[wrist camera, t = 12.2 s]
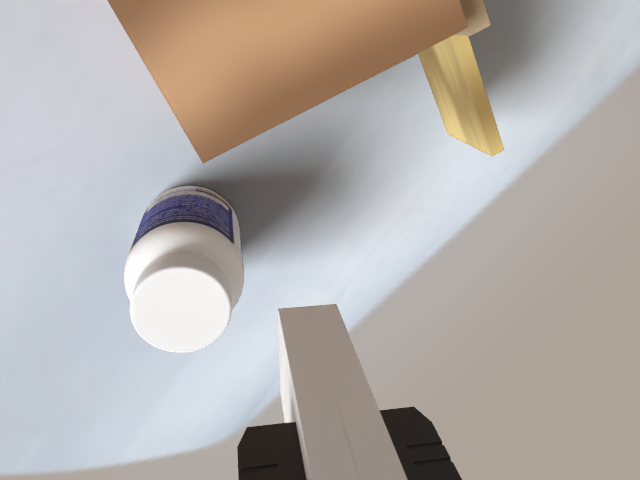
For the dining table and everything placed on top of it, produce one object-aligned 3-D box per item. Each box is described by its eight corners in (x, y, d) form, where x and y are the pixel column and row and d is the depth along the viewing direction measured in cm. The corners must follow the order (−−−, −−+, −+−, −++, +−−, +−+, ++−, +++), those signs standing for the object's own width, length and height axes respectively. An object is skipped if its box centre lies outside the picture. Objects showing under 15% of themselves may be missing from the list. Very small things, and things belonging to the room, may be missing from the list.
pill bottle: (123, 207, 28) (84, 282, 20) (214, 168, 28) (213, 228, 20) (169, 288, 31) (152, 385, 22) (255, 252, 31) (267, 336, 23)
